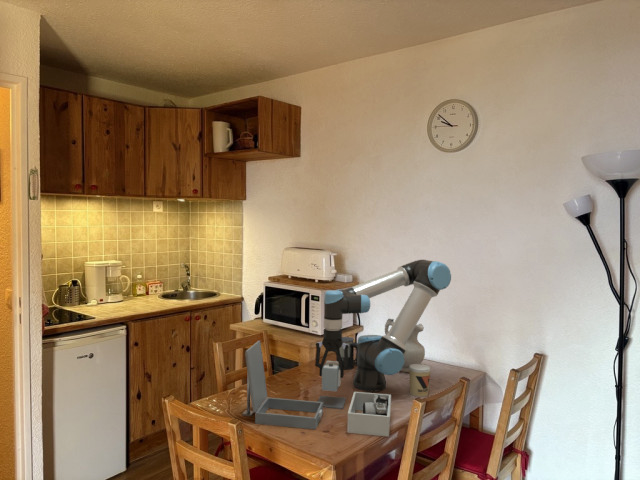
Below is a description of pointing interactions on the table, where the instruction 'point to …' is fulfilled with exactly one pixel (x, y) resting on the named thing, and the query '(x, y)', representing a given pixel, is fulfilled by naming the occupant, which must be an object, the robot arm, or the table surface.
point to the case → (289, 419)
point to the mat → (332, 402)
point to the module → (330, 376)
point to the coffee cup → (419, 379)
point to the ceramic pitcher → (410, 347)
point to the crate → (367, 416)
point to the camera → (376, 406)
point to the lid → (256, 375)
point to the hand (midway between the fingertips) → (331, 384)
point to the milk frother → (349, 352)
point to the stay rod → (248, 401)
